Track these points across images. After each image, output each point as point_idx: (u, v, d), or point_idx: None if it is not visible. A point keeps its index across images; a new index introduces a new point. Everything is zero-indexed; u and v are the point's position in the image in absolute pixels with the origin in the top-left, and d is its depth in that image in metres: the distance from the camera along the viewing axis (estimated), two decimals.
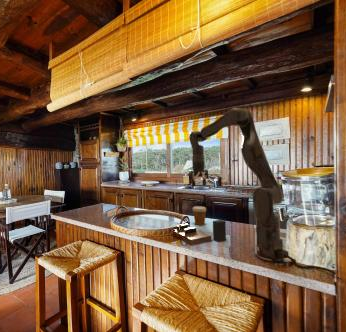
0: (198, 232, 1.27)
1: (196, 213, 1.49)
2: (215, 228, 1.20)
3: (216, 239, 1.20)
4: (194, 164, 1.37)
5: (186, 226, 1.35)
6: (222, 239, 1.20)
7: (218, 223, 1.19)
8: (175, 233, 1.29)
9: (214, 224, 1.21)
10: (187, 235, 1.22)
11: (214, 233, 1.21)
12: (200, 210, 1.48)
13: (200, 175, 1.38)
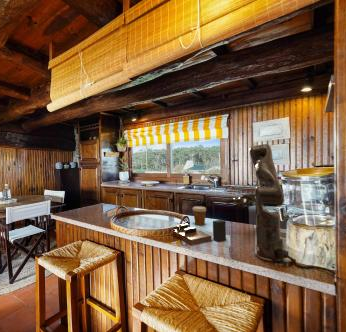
0: (198, 232, 1.27)
1: (196, 213, 1.49)
2: (215, 228, 1.20)
3: (216, 239, 1.20)
4: None
5: (186, 226, 1.35)
6: (222, 239, 1.20)
7: (218, 223, 1.19)
8: (175, 233, 1.29)
9: (214, 224, 1.21)
10: (187, 235, 1.22)
11: (214, 233, 1.21)
12: (200, 210, 1.48)
13: (241, 200, 1.27)
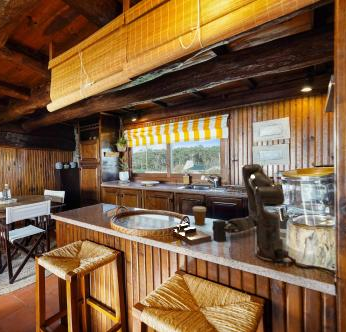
0: (198, 232, 1.27)
1: (196, 213, 1.49)
2: (215, 228, 1.20)
3: (216, 239, 1.20)
4: None
5: (186, 226, 1.35)
6: (222, 239, 1.20)
7: (218, 223, 1.19)
8: (175, 233, 1.29)
9: (214, 224, 1.20)
10: (187, 235, 1.22)
11: (214, 233, 1.21)
12: (200, 210, 1.48)
13: (226, 225, 1.22)
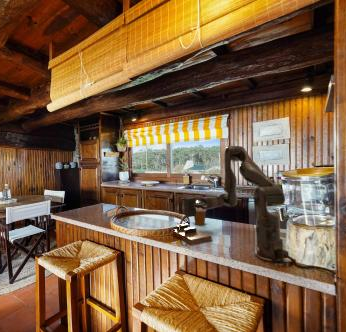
0: (198, 232, 1.27)
1: (196, 213, 1.49)
2: (186, 204, 1.28)
3: (187, 215, 1.27)
4: None
5: (186, 226, 1.35)
6: (192, 215, 1.28)
7: (188, 199, 1.26)
8: (175, 233, 1.29)
9: (185, 201, 1.28)
10: (187, 235, 1.22)
11: (185, 210, 1.29)
12: (200, 210, 1.48)
13: None
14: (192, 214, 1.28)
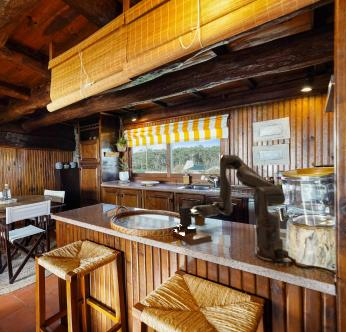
0: (198, 232, 1.27)
1: None
2: (181, 213, 1.29)
3: (182, 224, 1.29)
4: None
5: (186, 226, 1.35)
6: (188, 224, 1.29)
7: (184, 209, 1.28)
8: (175, 233, 1.29)
9: (180, 210, 1.30)
10: (187, 235, 1.22)
11: (180, 218, 1.30)
12: None
13: None
14: (188, 223, 1.29)
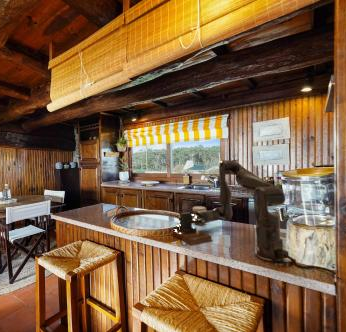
0: (198, 232, 1.27)
1: None
2: (181, 219, 1.29)
3: (182, 230, 1.29)
4: None
5: None
6: None
7: (184, 215, 1.28)
8: (175, 233, 1.29)
9: (181, 216, 1.30)
10: (187, 235, 1.22)
11: (181, 224, 1.30)
12: (200, 210, 1.48)
13: (193, 217, 1.32)
14: None
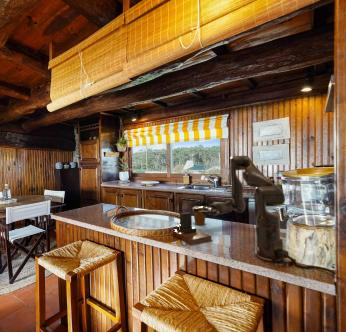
0: (198, 232, 1.27)
1: (196, 213, 1.49)
2: (181, 219, 1.29)
3: (182, 230, 1.29)
4: None
5: None
6: None
7: (184, 215, 1.28)
8: (175, 233, 1.29)
9: (181, 216, 1.30)
10: (187, 235, 1.22)
11: (181, 224, 1.30)
12: None
13: (207, 208, 1.36)
14: None
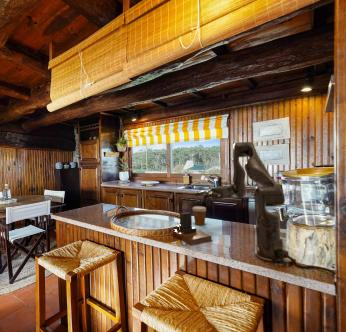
0: (198, 232, 1.27)
1: (196, 213, 1.49)
2: (181, 219, 1.29)
3: (182, 230, 1.29)
4: None
5: None
6: None
7: (184, 215, 1.28)
8: (175, 233, 1.29)
9: (181, 216, 1.30)
10: (187, 235, 1.22)
11: (181, 224, 1.30)
12: (200, 210, 1.48)
13: (208, 192, 1.36)
14: None
